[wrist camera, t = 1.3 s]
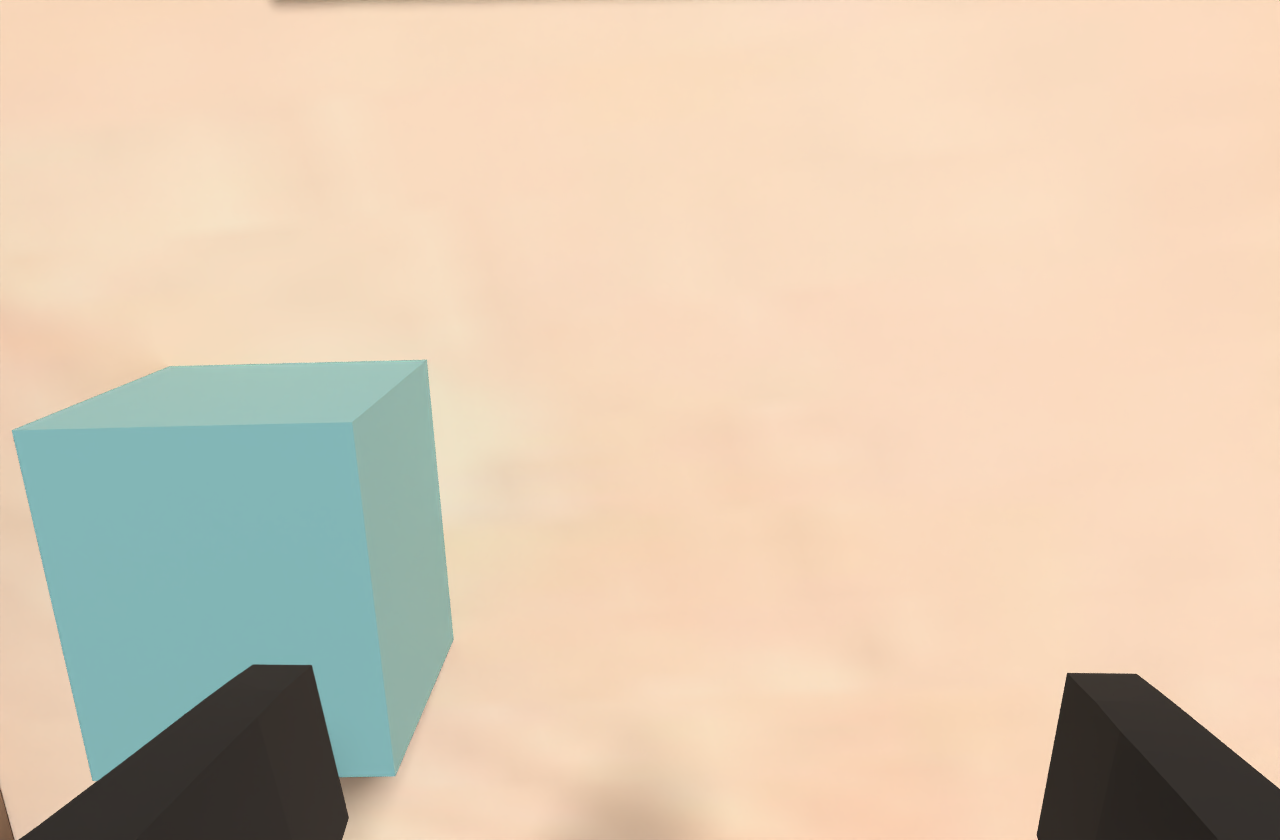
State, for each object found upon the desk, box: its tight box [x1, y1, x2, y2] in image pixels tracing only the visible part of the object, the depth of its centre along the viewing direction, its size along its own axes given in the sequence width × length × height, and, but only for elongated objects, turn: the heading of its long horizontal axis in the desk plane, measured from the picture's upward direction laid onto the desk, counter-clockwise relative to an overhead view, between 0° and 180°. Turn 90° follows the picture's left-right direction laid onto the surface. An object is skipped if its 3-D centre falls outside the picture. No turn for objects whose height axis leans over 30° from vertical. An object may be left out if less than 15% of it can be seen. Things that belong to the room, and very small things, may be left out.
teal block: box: [12, 360, 453, 781], centre depth 16 cm, size 6×5×4 cm
